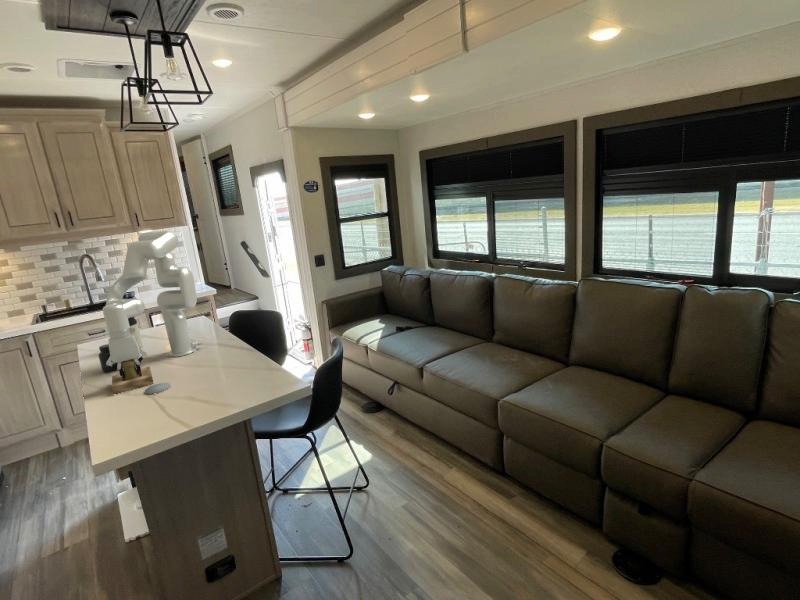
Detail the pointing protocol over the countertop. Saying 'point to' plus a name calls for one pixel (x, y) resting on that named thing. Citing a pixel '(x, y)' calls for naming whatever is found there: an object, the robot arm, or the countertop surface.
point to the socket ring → (132, 381)
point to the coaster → (157, 388)
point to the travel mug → (134, 325)
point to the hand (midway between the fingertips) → (131, 374)
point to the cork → (129, 369)
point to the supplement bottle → (105, 359)
